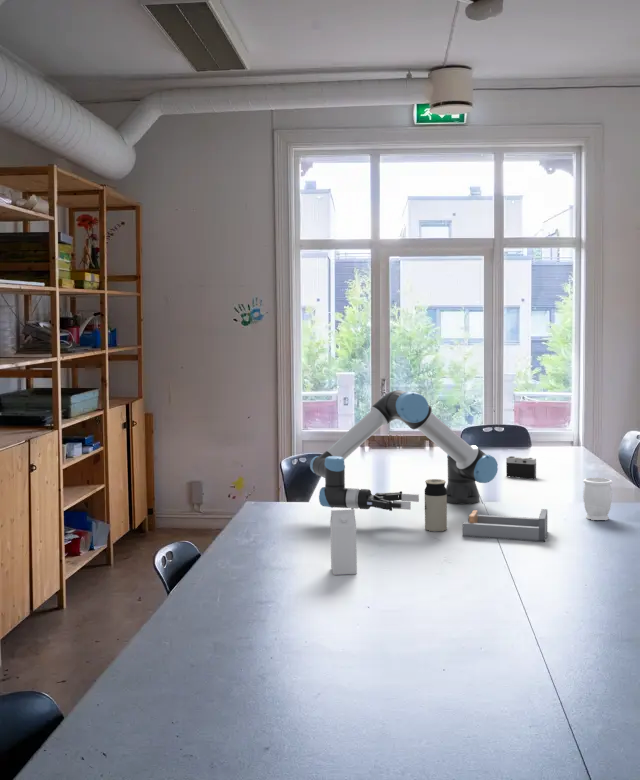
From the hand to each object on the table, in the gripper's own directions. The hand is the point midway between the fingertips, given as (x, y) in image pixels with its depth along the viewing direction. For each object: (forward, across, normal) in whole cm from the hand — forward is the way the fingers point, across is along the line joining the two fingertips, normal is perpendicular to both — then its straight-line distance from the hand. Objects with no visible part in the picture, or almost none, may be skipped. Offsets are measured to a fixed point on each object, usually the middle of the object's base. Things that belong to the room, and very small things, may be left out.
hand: (414, 501), depth 289 cm
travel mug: (+8, 0, -10) cm, 13 cm away
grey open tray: (+33, 0, -10) cm, 34 cm away
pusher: (+22, 0, -9) cm, 23 cm away
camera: (+28, -115, -10) cm, 119 cm away
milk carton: (-9, +58, -10) cm, 59 cm away
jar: (+64, -32, -10) cm, 72 cm away
